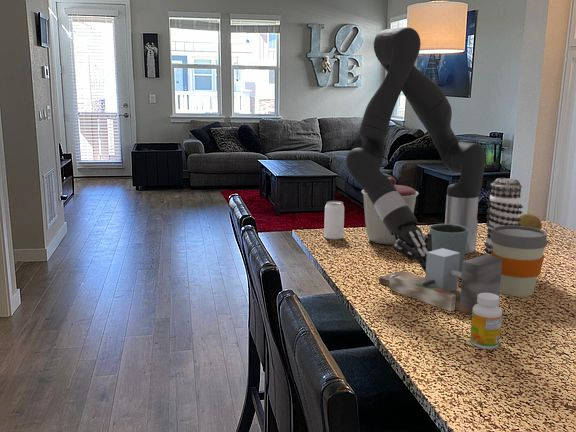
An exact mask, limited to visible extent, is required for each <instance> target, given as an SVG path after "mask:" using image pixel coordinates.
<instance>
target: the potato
mask: <svg viewBox="0 0 576 432" xmlns="http://www.w3.org/2000/svg"><path fill="white" fill-rule="evenodd" d="M518 217H519V218H520V219H521V221H519V222H518V223H519V224H520V226H524V227H531V228H536V229H539V230H542V227H543V224H542V221H541V219H540V218H539V217H538V216H536V215H534V214H530V213H525V214H523V213H522V214H520V215H519V216H518Z"/></svg>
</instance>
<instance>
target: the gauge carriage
mask: <svg viewBox="0 0 576 432" xmlns="http://www.w3.org/2000/svg"><path fill="white" fill-rule="evenodd" d="M459 264H460V253H459V252H455V251H452V250H448V249H444V248H441V249H438V250H434V251H430V252H427V259H426V272H425V276H424V277H425V282H424V283H423V286H427V285H430V286H433V287H436V288H439V289H442V290H445V291H448V292H451V291H454V290H457V289H458V288H459V279H462V273H461V272H459Z"/></svg>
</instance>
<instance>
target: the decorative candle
mask: <svg viewBox="0 0 576 432" xmlns="http://www.w3.org/2000/svg"><path fill="white" fill-rule="evenodd" d="M490 185H491V188H490V195H489V198H487V202H486V206H487V207H488V208H487V209H486V213H487V214H486V216H485V218H486V219H487V221H486V224H485V225H486V228H487V235H486V238H485V239H486V240H485V243H484V246H485V247H484V249H483V250H484V252H485V253H484V254H483V255H486V254H487V255H491V251H492V250H493V244H492V241H491V237H492V232H493V228H495V227H497V226H520V224H519V223H518V222H519V221H521V219H520V218H519V217H520V216H519V215H523V211H522V210H521V209H523V207H524V206H523V205H522V204H521V202H522V196H521V194H522V187H523V185H522V184H521V182H520V181H519V180H518V179H515V178H509V177H508V178H506V177H499V178H496V179H495V180H494V181H493V182H492V183H490Z"/></svg>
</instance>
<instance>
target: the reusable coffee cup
mask: <svg viewBox="0 0 576 432" xmlns="http://www.w3.org/2000/svg"><path fill="white" fill-rule="evenodd" d="M547 237H548V235H547V232H546V231H544V230H542V229H541V230H539V229H536V228H531V227H524V226H497V227H495V228H493V232H492V237H491V241H492V244H493V250H492V251H491V256H495V257H499V258H503V259H502V270H501V281H500V292H499V294H503V295H506V296H512V297H529V296H532V295H534V291H535V287H536V284H537V279H538V276H540V275H541V272H542V271H541V270H542V267H543V263H544V260H545V255H544V252H545V248H546V247H547V244H548V242H547V239H548V238H547Z"/></svg>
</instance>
